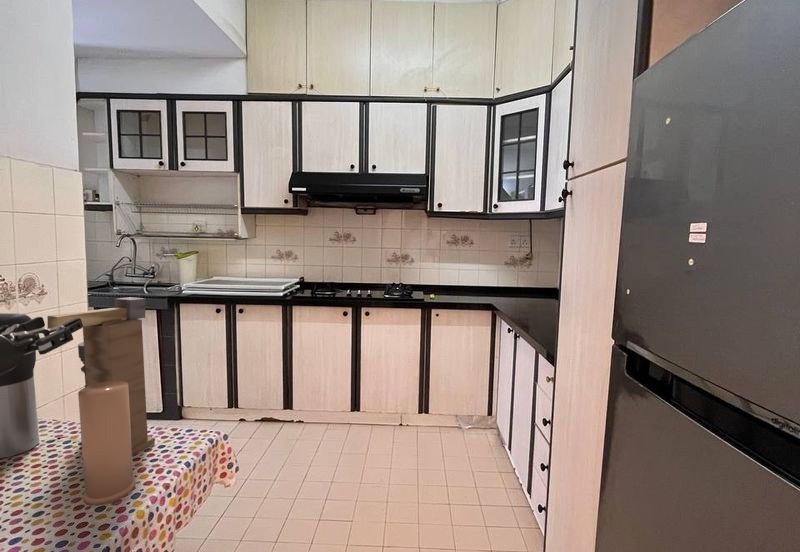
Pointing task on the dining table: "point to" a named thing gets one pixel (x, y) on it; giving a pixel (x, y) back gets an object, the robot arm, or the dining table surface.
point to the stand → (120, 368)
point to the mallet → (103, 313)
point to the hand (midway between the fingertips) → (61, 321)
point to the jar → (106, 442)
